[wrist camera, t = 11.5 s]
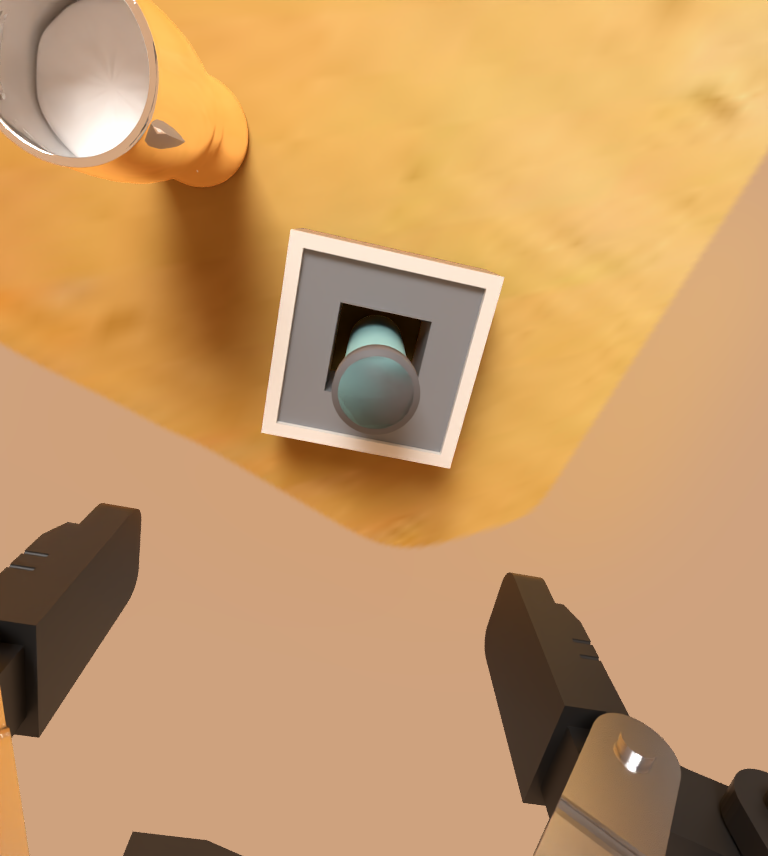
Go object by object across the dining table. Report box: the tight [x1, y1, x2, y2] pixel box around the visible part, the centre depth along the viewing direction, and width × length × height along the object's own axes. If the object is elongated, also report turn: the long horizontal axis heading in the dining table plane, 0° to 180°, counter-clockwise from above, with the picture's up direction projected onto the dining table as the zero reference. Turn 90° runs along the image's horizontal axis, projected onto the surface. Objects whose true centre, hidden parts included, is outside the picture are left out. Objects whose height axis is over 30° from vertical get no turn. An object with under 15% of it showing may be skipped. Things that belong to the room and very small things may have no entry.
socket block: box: [261, 228, 504, 469], centre depth 34 cm, size 12×12×5 cm
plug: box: [332, 315, 420, 435], centre depth 31 cm, size 4×4×12 cm
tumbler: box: [0, 0, 248, 187], centre depth 25 cm, size 7×7×15 cm
